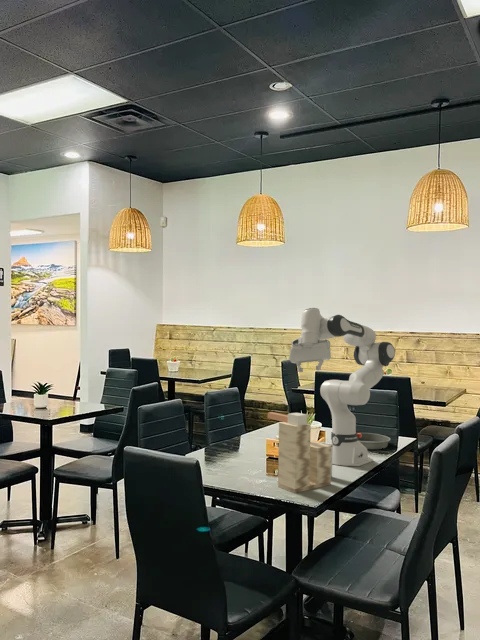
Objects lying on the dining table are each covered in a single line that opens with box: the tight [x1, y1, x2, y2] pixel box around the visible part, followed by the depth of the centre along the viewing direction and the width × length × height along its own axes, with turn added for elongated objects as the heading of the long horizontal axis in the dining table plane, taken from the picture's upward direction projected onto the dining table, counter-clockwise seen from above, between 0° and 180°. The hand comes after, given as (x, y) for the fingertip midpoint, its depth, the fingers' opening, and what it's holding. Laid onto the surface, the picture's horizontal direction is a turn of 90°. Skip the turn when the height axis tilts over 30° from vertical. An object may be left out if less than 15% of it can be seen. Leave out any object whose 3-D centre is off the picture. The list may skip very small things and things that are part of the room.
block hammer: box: [267, 411, 308, 426], centre depth 232 cm, size 5×20×4 cm, turn 37°
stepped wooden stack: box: [277, 421, 332, 494], centre depth 231 cm, size 20×10×26 cm, turn 127°
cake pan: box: [356, 432, 392, 450], centre depth 310 cm, size 25×25×4 cm
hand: (309, 371), depth 256 cm, fingers open, 8 cm apart
